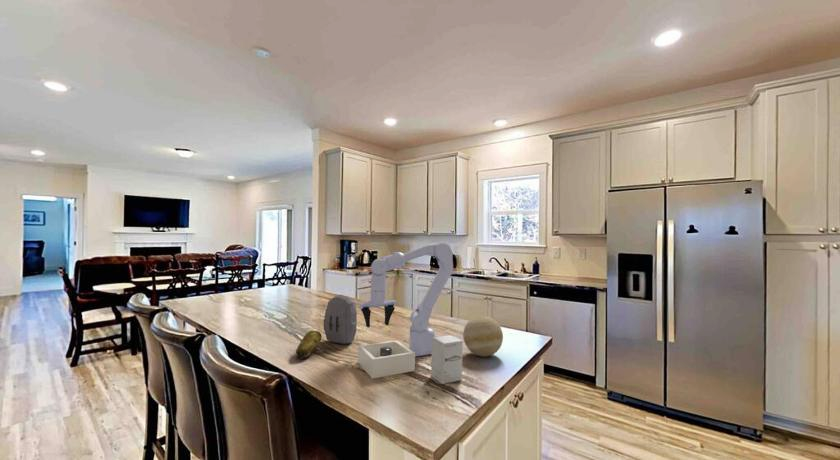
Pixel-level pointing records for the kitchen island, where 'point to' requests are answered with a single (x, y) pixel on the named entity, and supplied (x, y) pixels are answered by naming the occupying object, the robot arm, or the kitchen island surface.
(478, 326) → the decorative ball
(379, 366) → the white square storage bin
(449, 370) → the supplement box
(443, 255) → the robot arm
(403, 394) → the kitchen island surface
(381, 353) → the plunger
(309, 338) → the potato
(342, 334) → the small grey backpack
